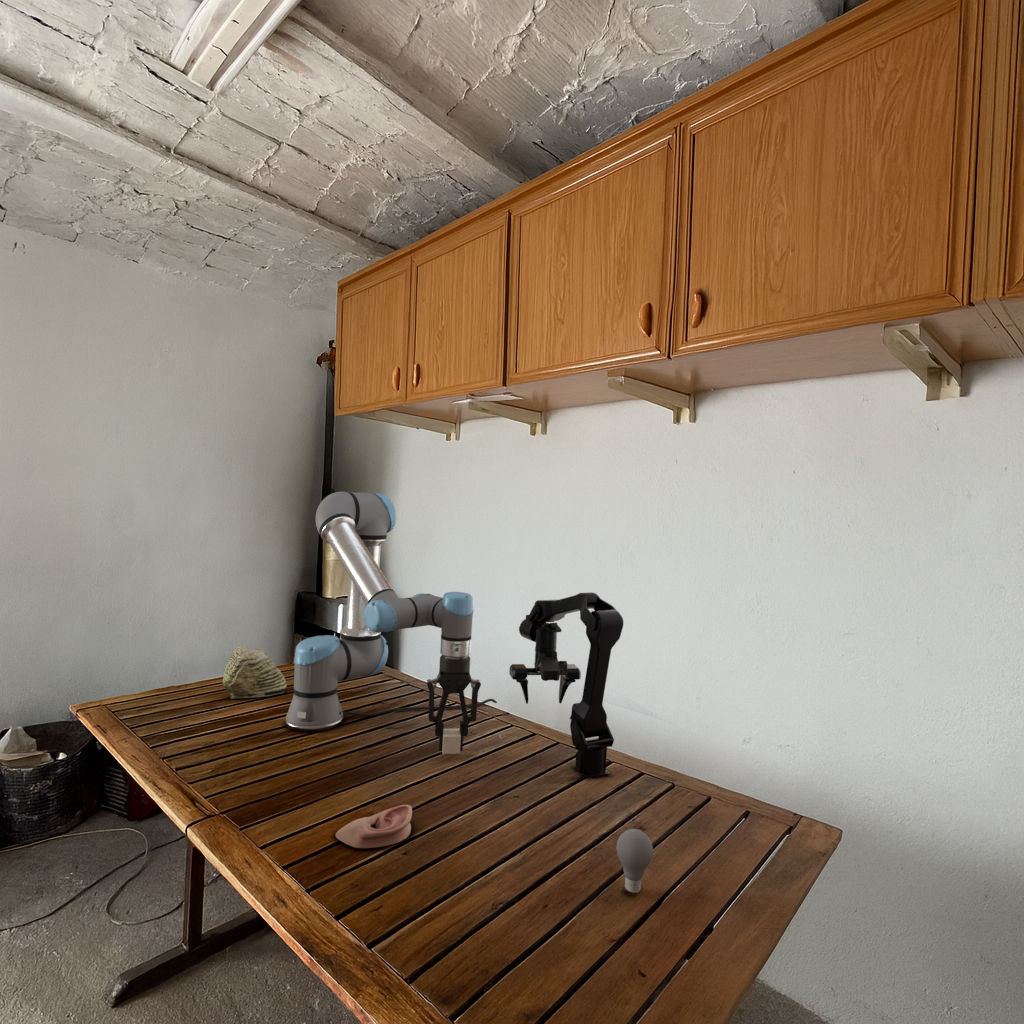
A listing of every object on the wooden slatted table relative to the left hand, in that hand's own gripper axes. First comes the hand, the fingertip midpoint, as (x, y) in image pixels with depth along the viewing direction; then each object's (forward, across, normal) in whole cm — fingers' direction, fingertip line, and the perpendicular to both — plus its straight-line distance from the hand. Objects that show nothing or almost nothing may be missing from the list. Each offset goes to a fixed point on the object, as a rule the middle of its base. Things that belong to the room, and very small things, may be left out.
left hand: (450, 748), depth 157 cm
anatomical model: (+2, -17, -35) cm, 39 cm away
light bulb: (+1, +27, -57) cm, 63 cm away
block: (0, 0, 0) cm, 0 cm away
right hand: (-8, +26, +11) cm, 29 cm away
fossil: (+3, -58, +51) cm, 77 cm away
